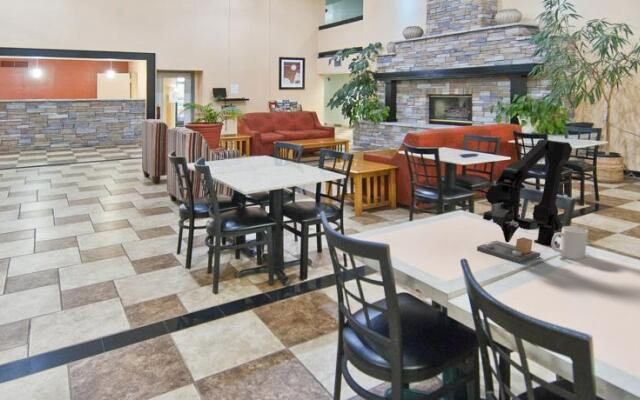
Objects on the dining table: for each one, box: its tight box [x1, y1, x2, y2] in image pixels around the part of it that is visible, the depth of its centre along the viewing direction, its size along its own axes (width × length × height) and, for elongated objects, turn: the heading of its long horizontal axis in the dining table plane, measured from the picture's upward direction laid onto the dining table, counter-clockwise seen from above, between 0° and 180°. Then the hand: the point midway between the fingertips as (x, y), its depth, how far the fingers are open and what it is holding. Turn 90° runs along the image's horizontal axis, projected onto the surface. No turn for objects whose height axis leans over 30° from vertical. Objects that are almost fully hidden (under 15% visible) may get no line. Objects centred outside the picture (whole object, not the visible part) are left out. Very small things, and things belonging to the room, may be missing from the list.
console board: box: [476, 240, 541, 264], centre depth 180 cm, size 12×18×3 cm, turn 37°
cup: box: [550, 225, 589, 261], centre depth 177 cm, size 8×12×10 cm
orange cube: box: [515, 237, 533, 254], centre depth 177 cm, size 4×4×4 cm
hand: (507, 242), depth 182 cm, fingers closed
